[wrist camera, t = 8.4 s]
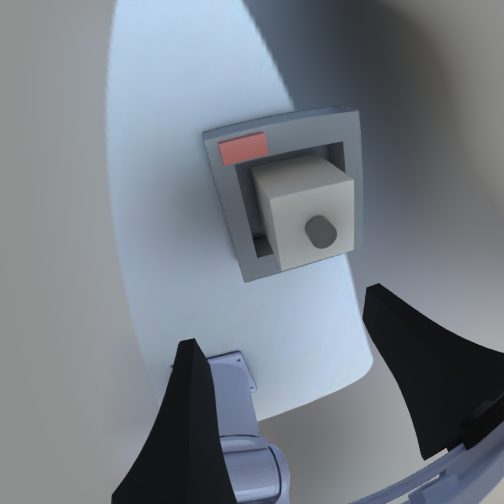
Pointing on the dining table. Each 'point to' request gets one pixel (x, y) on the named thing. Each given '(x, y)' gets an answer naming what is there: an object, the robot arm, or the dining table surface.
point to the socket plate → (271, 150)
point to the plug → (305, 209)
